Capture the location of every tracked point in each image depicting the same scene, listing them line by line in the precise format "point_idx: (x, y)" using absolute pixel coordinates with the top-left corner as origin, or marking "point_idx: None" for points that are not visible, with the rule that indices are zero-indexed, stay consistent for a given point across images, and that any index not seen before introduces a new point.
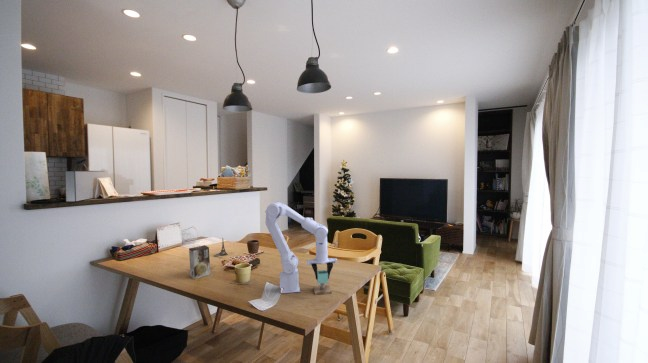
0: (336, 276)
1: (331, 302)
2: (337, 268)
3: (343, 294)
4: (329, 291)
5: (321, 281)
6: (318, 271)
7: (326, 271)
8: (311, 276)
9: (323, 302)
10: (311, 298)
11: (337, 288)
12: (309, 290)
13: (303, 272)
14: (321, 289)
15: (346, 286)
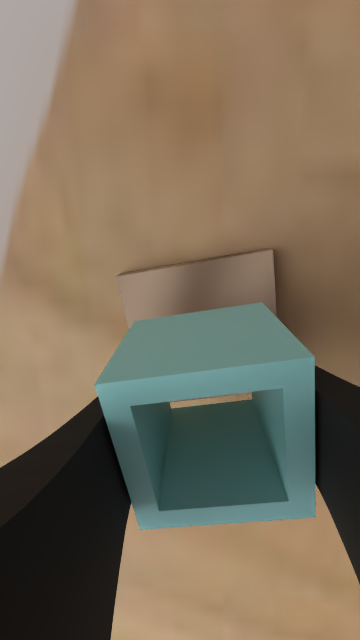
0: None
1: (107, 71)
2: (117, 619)
3: (21, 257)
4: (137, 277)
5: (218, 317)
6: (281, 496)
7: (137, 482)
8: (282, 543)
9: (188, 69)
10: (306, 168)
11: (85, 366)
12: (312, 336)
13: (332, 592)
14: None
15: (23, 396)
